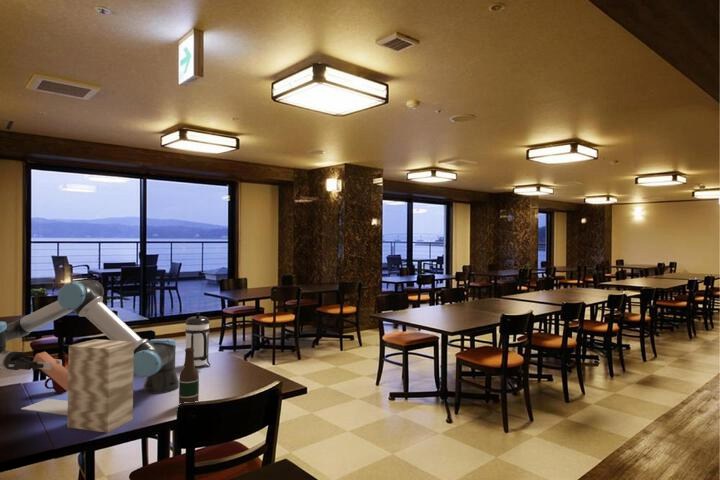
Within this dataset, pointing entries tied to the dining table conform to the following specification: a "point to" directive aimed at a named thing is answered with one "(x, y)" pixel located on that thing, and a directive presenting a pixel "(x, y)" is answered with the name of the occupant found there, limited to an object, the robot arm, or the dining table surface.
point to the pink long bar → (54, 369)
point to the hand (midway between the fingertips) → (55, 364)
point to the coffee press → (198, 338)
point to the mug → (55, 386)
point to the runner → (49, 406)
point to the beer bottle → (189, 379)
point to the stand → (100, 385)
